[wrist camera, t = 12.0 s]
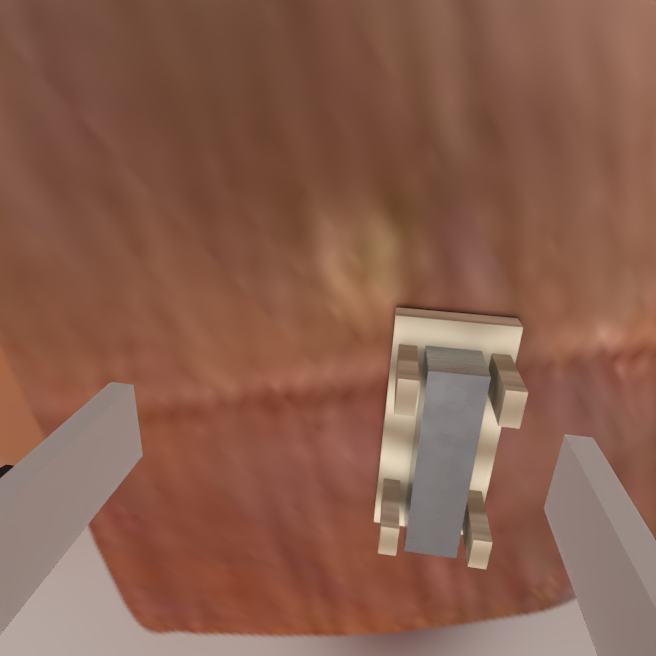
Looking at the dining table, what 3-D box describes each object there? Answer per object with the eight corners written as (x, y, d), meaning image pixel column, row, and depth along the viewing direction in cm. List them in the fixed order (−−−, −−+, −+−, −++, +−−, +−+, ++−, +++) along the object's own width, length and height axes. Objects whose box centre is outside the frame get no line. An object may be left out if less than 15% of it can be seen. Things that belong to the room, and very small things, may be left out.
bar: (425, 345, 40) (428, 370, 36) (481, 350, 39) (490, 376, 35) (404, 513, 47) (404, 550, 43) (451, 519, 46) (456, 558, 42)
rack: (396, 307, 41) (394, 346, 34) (517, 318, 40) (543, 361, 32) (375, 507, 49) (370, 573, 42) (474, 521, 48) (487, 591, 41)
